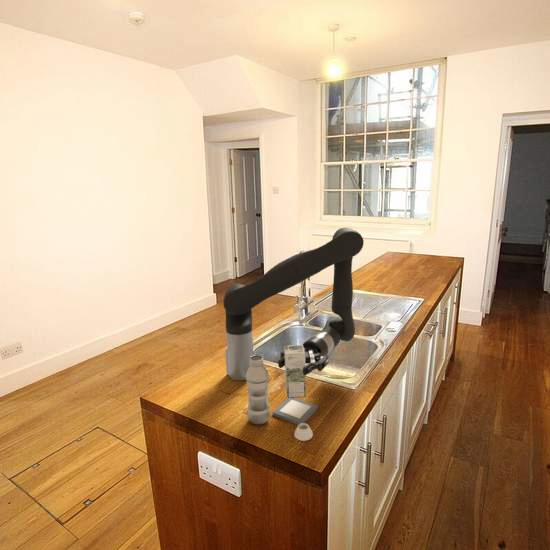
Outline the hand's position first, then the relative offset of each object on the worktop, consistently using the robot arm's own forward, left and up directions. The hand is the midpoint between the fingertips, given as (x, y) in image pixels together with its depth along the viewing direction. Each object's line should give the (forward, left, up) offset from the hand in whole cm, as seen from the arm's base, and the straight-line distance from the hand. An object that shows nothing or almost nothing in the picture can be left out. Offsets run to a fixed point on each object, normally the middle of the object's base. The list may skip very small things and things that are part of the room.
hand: (291, 368), depth 110 cm
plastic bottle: (-7, -7, -15) cm, 18 cm away
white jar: (+7, -6, -16) cm, 18 cm away
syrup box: (0, +2, -9) cm, 9 cm away
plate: (0, +2, -15) cm, 15 cm away
